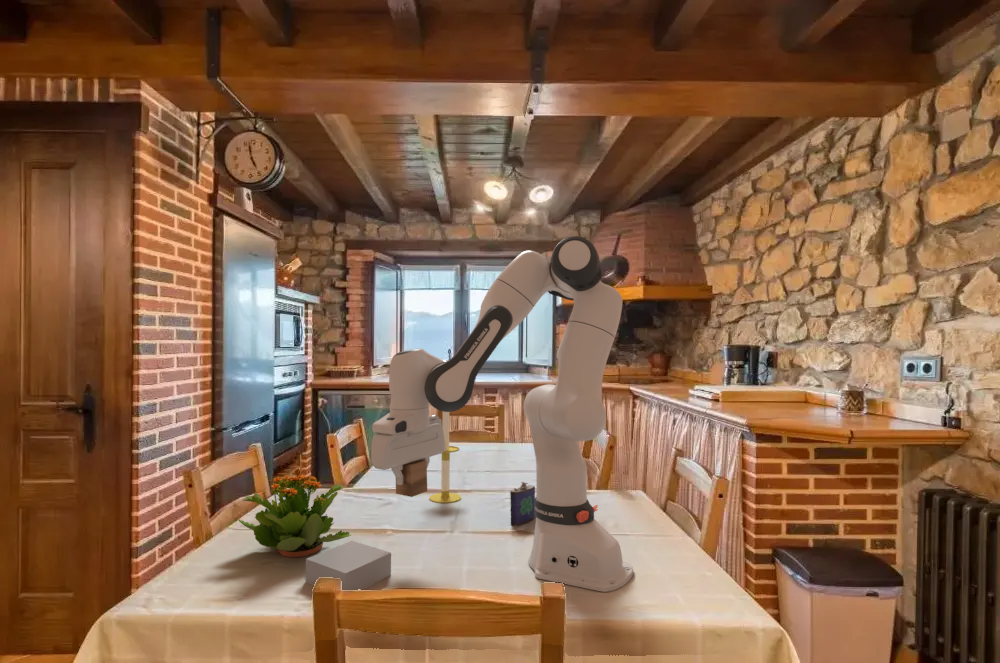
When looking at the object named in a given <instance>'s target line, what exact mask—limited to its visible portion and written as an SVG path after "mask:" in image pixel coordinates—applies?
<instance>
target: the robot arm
mask: <svg viewBox="0 0 1000 663" xmlns="http://www.w3.org/2000/svg"><path fill="white" fill-rule="evenodd" d="M596 248H597V247H596V246H595V245H594V244H593V243H592V242H591V241H590V240H588V239H587V238H585V237H582V236H577V235H576V236H575V235H574V236H573V235H572V236H568V237H565V238H563V239H562V240H560V242H558V243H557V244H556V245H555V247H554V249H553V251H552V253H551V256H550V257H549V256H544V255H543V254H541V253H539V252H538V251H534V250H525V251H522V252H520V253H519V254H518V255H517V256H515V258H514V259H512V261H510V262H509V264H507V266H506V267H505V268H504V269H503V270H502V271H501V273H500V274H499V275H498V276H497V277H496V278H495V279H494V282H493V283H492V284H491V286H490V287H489V288H488V291H487V292H486V294H485V296H484V297H483V300H482V302H481V305H480V311H479V316H478V320H477V322H476V324H475V325H474V327H473V329H472V331H471V332H470V334H469V335H468V336H467V338H466V339H465V340H464V342H463V343H462V344H461V345H460V347H459V348H458V350H457V351H456V353H455V354H454V355H453V356H452V357H451V358H450V359H449V360H444V359H442V358H439V357H437V356H435V355H433V354H431V353H429V352H427V351H426V350H425V349H424V348H411V349H407V350H403V351H398V352H397V353H396V354H394V355H393V356H392V358H391V359H390V364H389V371H388V372H389V375H388V376H389V378H388V379H389V380H388V383H389V384H388V386H389V388H388V389H389V392H390V397H391V398H390V399H391V401H390V404H389V412H388V413H387V414H385V415H383V417H381V418H380V419H378V420H376V421H375V422H373V423H372V425H371V428H372V429H371V430H372V432H373V433H374V435H373V437H372V438H371V447H370V448H371V449H370V450H371V451H370V454H371V464H372V466H373V467H374V469H377V470H383V471H387V470H390V469H391V472H392V473H393V475H394V477H395V485H396V484H397V485H403V484H405V483H406V476H403V474H402V472H401V470H402V469H403V465H404V464H407V463H410V462H414V461H417V460H425V461H427V468H428V467H429V464H430V461H431V460H430V458H431V457H434V456H437V455H442V453H443V452H444V450H445V438H444V431H443V420H442V419H441V418H440V417H439V416H438V415H436V414H433V415H430V406H432V407H433V408H434V409H436V410H438V411H440V412H442V413H443V412H449V413H452V412H455V411H456V412H457V411H460V410H461V409H462V408H464V407H465V406H466V405H467V404H468V402H470V399H471V397H472V394H473V391H474V386H475V382H476V379H477V376H478V374H479V372H480V371H481V369H482V368H483V366H484V365H485V364H486V362H487V361H488V359H489V358H490V356H492V354H493V352H494V351H495V349H496V348H497V346H498V345H499V344H500V343H501V341H502V340H504V338H506V337H507V336H508V335H509V334H510V333H511V332H512V331H513V330H514V329H515V328H517V327H518V326H519V325H520V324H521V323H522V322H524V320H525V319H526V317H528V315H529V314H530V313H531V312H532V310H533V309H534V307H535V306H536V305H537V303H538V302H539V301H540V299H541V298H542V297H543V296H544V295H545V294H546V293H549V295H553V296H555V297H560V298H562V299H565V300H567V301H573V307H572V311H571V314H570V317H569V319H568V322H567V324H566V327H565V330H564V332H563V335H562V338H561V340H560V343H559V347H558V348H557V351H556V358H557V361H558V372H557V380H556V383H555V384H548V383H547V384H542V385H539V386H536V387H534V388H532V389H531V390H530V391H528V393H527V395H526V396H525V398H524V400H523V412H524V415H525V418H526V419H527V422H528V425H529V428H530V429H529V430H530V436H531V441H532V445H533V450H534V456H535V465H536V466H535V470H536V472H535V474H536V476H535V477H536V496H535V504H534V516H535V519H534V521H535V527H534V536H533V543H532V547H531V551H530V554H529V558H528V565H529V567H530V568H532V570H533V571H534V576H535V578H537V579H539V580H544V581H549V582H553V583H558V582H563V583H566V584H565V585H569V586H573V587H578V588H584V589H587V590H593V591H598V592H602V593H607V592H611V591H614V590H617V589H619V588H621V587H623V586H625V585H626V584H627V583H629V581H630V580H631V579H632V577H633V576H634V568H633V565H632V564H631V563H628V562H626V561H623V555H622V549H621V545H620V543H619V541H618V540H617V539H616V538H615V537H614V536H613V535H612V534H611V533H609V531H608V530H606V528H604V526H603V525H602V524H600V522H598V521H597V519H595V513H596V512H597V511H598V504H596V505H593V506H592V505H591V504H590V502H589V500H588V496H587V494H588V493H587V492H588V485H587V484H588V483H587V482H588V479H587V478H588V467H587V463H586V459H585V458H584V455H583V454H582V452H581V448H580V444H579V442H588V441H591V440H593V439H596V438H597V437H598V436H599V435H600V434H601V433H602V432H603V431H604V429H605V427H606V422H607V412H606V411H607V410H606V408H605V405H604V404H603V399H602V393H603V378H604V373H605V368H606V366H607V365H606V364H607V362H608V359H609V356H610V352H611V350H612V346H613V343H614V340H615V338H616V335H617V333H618V332H617V331H618V328H619V325H620V321H621V320H620V319H621V315H622V311H623V310H622V309H623V297H622V295H621V293H620V292H619V291H618V290H617V289H616V288H614V287H613V286H611V285H609V284H606V283H604V282H602V281H601V280H602V278H603V270H602V266H601V261H600V256H599V253H598V251H597V249H596ZM563 583H562V584H563Z"/></svg>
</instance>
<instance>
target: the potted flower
mask: <svg viewBox="0 0 1000 663" xmlns="http://www.w3.org/2000/svg"><path fill="white" fill-rule="evenodd" d="M272 479H273V483H272V485H270V487H271V494H272V495H274V499H271V502H270V500H268V499H267V498H264V499H263V497H262V496H261V495H260V494H259V493H257V492H256V493H254V494H253V495H251V496H249V495H247V496H245V498H244V499H243V500H242V501H243V502H252V503H256V504H258V505H261V506H263V507H264V508H265V509H264V510H262V509H261V511H258V512H256V513H255V516H254V518H255V519H256V521H257V522H258V523H259V524H257V525H255V524H254V523H249V522H248V521H244V520H243V519H239V518H237V521H238V522H239V523H240V524H242V525H243V526H244V527H246V528H247V529H249V530H252V531H253V535H254V539H255V540H256V541H257V542H258V544H259V545H261V546H263V547H266V548H269V549H270V548H271V549H275V550H278V553H279V554H280V555H281V556H283V557H285V558H298V557H299V558H302V557H306V556H307V557H308V556H311V555H314V554H316V553H318V552H319V551H320V550H321V549H322V548H323V546H324V545H323V544H324V543H331V542H333V541H338V540H342V539H345V538H347V537H348V538H349V537H350V536H352V534H350V532H349V531H346V532H345V531H343V532H342V530H341V529H340V530H339V531H337V532H336V533H335V534H332V533H329V534H327V533H328V532H329V531H330V530H331V527H332V526H333V525H334V524H335V522H333V521H334V517H332V516H329V515H328V513H326V511H327V509H328V508H329V507H330V506H331V504H333V501H334V500H335V498H336V497H337V495H338V491H340V490H343V489H344V487H345V486H344V485H342V484H338V483H336V484H335V485H334V486H333V485H332V486H330V488H329V489H328V491H327V492H326V493H322V494H321V493H320V496H319V494H317V495H316V498H314V499H313V501H312V502H313V504H312V506H310V504H309V503H310V498H311V495H312V494H314V493H315V492H316V491H317V489H320V488H322V484H321V482H320V481H318V479H317V478H316V477H315V476H311V475H302V474H299V475H298V476H297V477H294V476H288V475H284V476H282V477H280V476H277V477H274V478H272ZM306 490H307V491H306ZM277 496H278V498H277ZM277 500H278V501H279V502H278V501H277ZM277 502H278V503H277ZM325 513H326V514H325ZM324 514H325V515H324ZM323 534H327V535H326V536H325V535H324V536H322V535H323ZM320 536H321V537H320Z"/></svg>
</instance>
